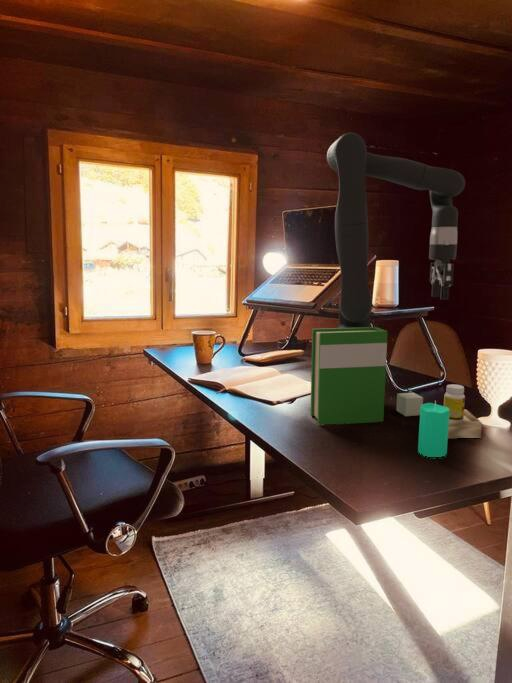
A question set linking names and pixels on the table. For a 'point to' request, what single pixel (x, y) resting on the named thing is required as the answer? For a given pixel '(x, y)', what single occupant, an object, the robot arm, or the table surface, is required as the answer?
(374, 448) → the table surface
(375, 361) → the hardback book
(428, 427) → the candle
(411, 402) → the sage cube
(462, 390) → the supplement bottle
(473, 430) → the birch block
